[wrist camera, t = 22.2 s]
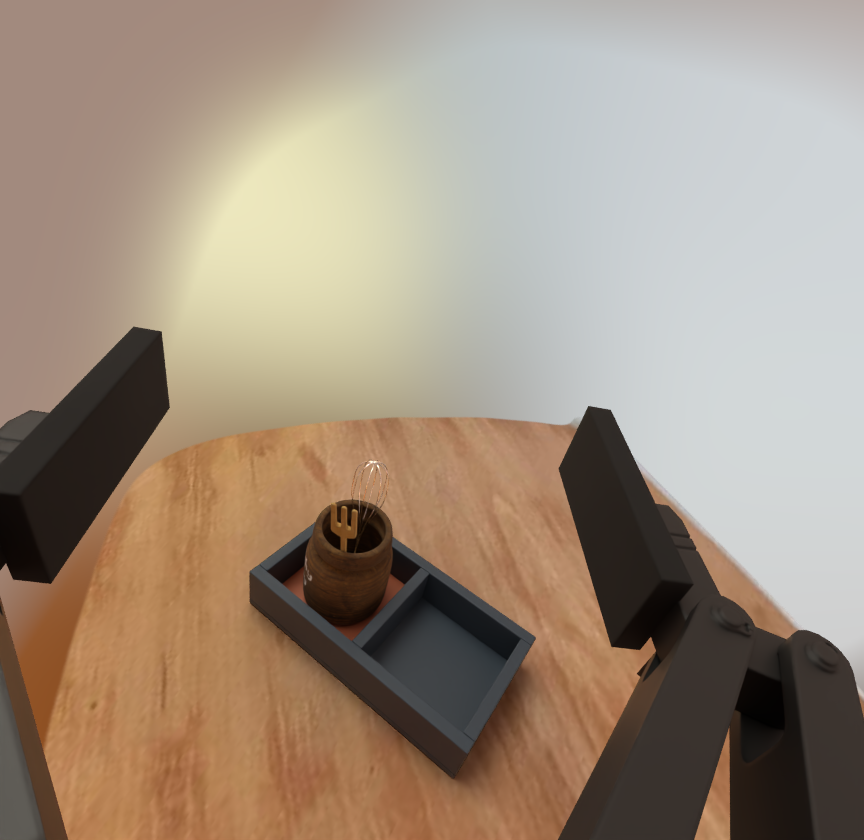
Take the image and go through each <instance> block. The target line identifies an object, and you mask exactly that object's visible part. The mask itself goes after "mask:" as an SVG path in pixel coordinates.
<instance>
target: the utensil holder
mask: <svg viewBox="0 0 864 840" xmlns="http://www.w3.org/2000/svg"><path fill="white" fill-rule="evenodd" d="M372 461H373V460H372ZM377 461H378V460H377ZM377 461H376V462H375V461H374V462H373V463H371V464H374V463H375V464H376V465H377V468H378V469H379V467H378V463H380V462H377ZM367 462H371V461H370V460H368V461H367ZM367 462H364V463H367ZM362 464H363V463H362ZM362 464H360V465H362ZM375 464H374V465H375ZM381 464H383V463H381ZM360 465H359V466H360ZM365 465H366V464H365ZM369 465H370V464H369ZM379 465H380V464H379ZM383 465H384V464H383ZM359 466H358V467H359ZM367 466H368V465H367ZM367 466H364V468H365V467H367ZM380 466H382V465H380ZM384 466H385V465H384ZM373 467H374V466H373ZM382 467H383V466H382ZM385 467H386V466H385ZM364 468H363V469H362V470H363V472H364ZM383 468H384V467H383ZM357 469H358V468H357ZM357 469H356V471H357ZM372 469H373V468H372ZM384 469H385V468H384ZM362 470H361V471H362ZM385 470H387V467H386V469H385ZM361 471H360V473H361ZM371 472H372V470H371ZM379 472H380V469H379ZM386 472H387V471H386ZM360 473H359V474H360ZM376 473H377V470H376ZM355 474H356V472H355ZM359 474H358V476H359ZM370 475H371V473H370ZM387 475H388V472H387ZM358 476H357V478H358ZM362 476H363V473H362ZM375 477H376V474H375ZM354 478H355V475H354ZM369 478H370V476H369ZM380 479H381V473H380ZM386 479H387V476H386ZM356 481H357V479H356ZM361 481H362V478H361ZM368 481H369V479H368ZM353 482H354V479H353ZM374 482H375V479H374ZM385 484H386V481H385ZM355 485H356V482H355ZM367 485H368V482H367ZM388 485H389V476H388ZM373 486H374V483H373ZM352 487H353V483H352ZM360 487H361V482H360ZM380 488H381V482H380ZM384 488H385V485H384ZM354 489H355V486H354ZM366 489H367V486H366ZM372 490H373V487H372ZM387 490H388V486H387ZM383 492H384V489H383ZM365 493H366V490H365ZM371 493H372V491H371ZM379 493H380V489H379ZM353 494H354V490H353ZM382 494H383V493H382ZM386 494H387V491H386ZM351 496H352V490H351ZM370 497H371V495H370ZM378 497H379V494H378ZM381 497H382V495H381ZM381 497H380V499H381ZM364 498H365V495H364ZM385 498H386V495H385ZM380 499H379V501H380ZM369 500H370V498H369ZM377 501H378V499H377ZM379 501H378V503H379ZM384 501H385V499H384ZM384 501H383V503H384ZM378 503H376V506H377V504H378ZM383 503H382V505H383ZM382 505H381V507H382ZM376 506H375V505H373V504H371V503H369V501H368V502H365V501H364V499H363V501H360V490H359V500H353V496H352V500H343V501H339V502H336V503H331V505H329V506H328V507H326V508H325V509H324V510H323V511H322V512H321V513H320V515H319V516H318V518H317V520H316V523H315V525H314V528H313V534H312V536H311V538H310V540H309V542H308V545H307V549H306V555H305V563H304V574H303V592H304V597H305V600H306V603H307V605H308V606H309V607H311V608H312V609H313V610H314V611H316V612H317V613H318V614H319V615H320V616H322V617H323V618H324V619H325V620H327V621H328V622H329V623H333V624H338V625H349V624H355V623H358V622H361V621H363V620H365V619H366V618H368V617H369V616H371V615H372V614H373V613H374V612H375V611H376V610H377V608H378V607H379V605H380V604H381V602H382V600H383V597H384V594H385V591H386V587H387V584H388V580H389V575H390V571H391V566H392V559H393V552H392V540H393V533H392V525H391V522H390V520H389V518H388V517H387V515H386V514H385V513H384V512H383V511H382V510H381V509H380V508H381V507H380V508H378V507H376Z"/></svg>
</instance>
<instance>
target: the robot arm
mask: <svg viewBox="0 0 864 840" xmlns="http://www.w3.org/2000/svg"><path fill="white" fill-rule="evenodd" d="M169 408H170V407H169V397H168V387H167V378H166V369H165V359H164V350H163V341H162V332H161V331H155V330H150V329H143V328H138V327H133V328H132V329H131V330H130V331H129V332H128V333H127V334H126V335H125V336H124V337H123V338H122V339H121V340H120V341H119V342H118V343H117V344H116V345H115V346H114V347H113V348H112V350H110V351H109V353H108V354H107V355H106V356H105V357H104V358H103V359H102V360H101V361H100V362H99V363H98V364H97V365H96V366H95V367H94V368H93V369H92V370H91V371H90V372H89V373H88V374H87V375H86V376H85V377H84V378H83V379H82V380H81V382H79V383H78V384H77V385H76V386H75V387H74V388H73V390H71V392H70V393H69V394H68V395H67V396H66V397H65V398H64V399H63V400H62V401H61V402H60V403H59V404H58V405H57V406H56V407H55V408H54V409H53V410H52V411H51V412H50V413H45V412H39V411H32V410H30V411H28V412H26V413H24V414H22V415H20V416H18V417H16V418H14V419H12V420H10V421H8V422H7V423H6V424H5V425H4V426H3V427H1V428H0V570H1V569H2V567H3V566H4V565H5V564H7V566H8V568H9V571H10V573H11V576H12V578H13V579H14V580H22V581H31V582H40V583H49V584H51V583H52V581H53V580H54V578H55V577H56V576H57V574H58V573H59V571H60V570H61V568H62V567H63V565H64V564H65V562H66V561H67V559H68V558H69V556H70V555H71V553H72V552H73V550H74V549H75V547H76V546H77V544H78V543H79V541H80V540H81V538H82V537H83V535H84V534H85V533H86V531H87V530H88V528H89V527H90V525H91V524H92V522H93V521H94V519H95V518H96V516H97V515H98V513H99V512H100V510H101V509H102V507H103V506H104V504H105V503H106V501H107V500H108V498H109V497H110V495H111V494H112V492H113V491H114V489H115V488H116V487H117V485H118V484H119V482H120V481H121V479H122V477H123V476H124V475H125V473H126V472H127V470H128V469H129V467H130V466H131V464H132V463H133V461H134V460H135V458H136V457H137V455H138V454H139V452H140V451H141V449H142V448H143V446H144V445H145V444H146V442H147V441H148V439H149V438H150V436H151V435H152V433H153V432H154V430H155V429H156V427H157V426H158V424H159V423H160V421H161V420H162V418H163V417H164V415H165V414H166V412H167V410H168V409H169ZM559 472H560V475H561V478H562V482H563V485H564V488H565V492H566V495H567V499H568V502H569V505H570V509H571V512H572V515H573V519H574V522H575V525H576V529H577V532H578V536H579V539H580V542H581V546H582V549H583V552H584V556H585V559H586V563H587V566H588V569H589V573H590V576H591V579H592V583H593V586H594V589H595V593H596V596H597V600H598V603H599V606H600V610H601V613H602V616H603V620H604V623H605V627H606V630H607V633H608V637H609V640H610V643H611V647H618V648H627V649H636V650H640V649H641V648H642V647H643V646H644V644H645V643H646V642H647V641H648V639H649V638H650V637H651V638H652V641H653V644H654V646H655V649H656V652H655V653H654V654H653V656H652V657H651V658H650V659H649V660H648V661H647V663H646V664H645V665H644V666H643V667H642V668H641V670H640V671H639V672H638V673H637V674H638V675H639V676H640V679H639V681H638V683H637V685H636V687H635V689H634V691H633V693H632V695H631V697H630V699H629V701H628V703H627V705H626V707H625V709H624V711H623V713H622V715H621V717H620V719H619V721H618V723H617V725H616V727H615V729H614V730H613V732H612V734H611V736H610V738H609V740H608V742H607V744H606V746H605V748H604V750H603V752H602V754H601V756H600V758H599V760H598V762H597V764H596V766H595V768H594V770H593V772H592V774H591V776H590V778H589V780H588V782H587V784H586V786H585V788H584V790H583V791H582V793H581V795H580V797H579V799H578V801H577V803H576V805H575V807H574V809H573V811H572V813H571V815H570V817H569V819H568V821H567V823H566V825H565V827H564V829H563V831H562V833H561V835H560V837H559V839H558V840H694V838H695V835H696V832H697V829H698V825H699V822H700V819H701V816H702V812H703V809H704V806H705V803H706V800H707V796H708V793H709V790H710V787H711V783H712V780H713V777H714V774H715V771H716V767H717V764H718V761H719V758H720V754H721V751H722V748H723V745H724V742H725V738H726V735H727V732H728V729H729V725H730V840H864V717H863V713H862V708H861V704H860V700H859V695H858V691H857V686H856V682H855V677H854V673H853V670H852V668H851V666H850V663H849V661H848V660H847V659H846V658H845V656H844V655H843V654H842V652H841V651H840V650H839V649H838V648H837V647H835V646H834V645H833V644H832V643H831V642H830V641H828V640H827V639H825V638H823V637H822V636H820V635H819V634H816V633H813V632H810V631H807V630H798V631H796V632H795V633H794V634H792V635H791V636H790V637H789V638H788V639H787V640H786V639H784V638H782V637H779V636H777V635H774V634H772V633H769V632H767V631H764V630H762V629H760V628H757V627H755V625H754V623H753V621H752V619H751V618H750V617H749V615H748V614H747V613H746V612H745V610H744V609H742V608H741V607H740V606H739V605H737V604H736V603H735V602H733V601H731V600H730V599H728V598H726V597H724V596H721V595H720V593H719V591H718V589H717V587H716V585H715V583H714V581H713V580H712V578H711V576H710V574H709V572H708V570H707V568H706V566H705V564H704V562H703V560H702V558H701V556H700V554H699V552H698V551H696V547H695V545H694V543H693V541H692V539H690V535H689V533H688V531H687V529H686V527H685V525H684V523H683V521H682V520H681V519H680V518H679V517H678V516H677V514H676V513H675V512H674V511H673V510H672V509H671V508H670V507H669V506H667V505H660V504H655V502H654V500H653V497H652V495H651V493H650V491H649V489H648V487H647V485H646V483H645V481H644V479H643V477H642V474H641V472H640V470H639V468H638V466H637V464H636V462H635V460H634V458H633V456H632V454H631V451H630V449H629V447H628V445H627V443H626V441H625V439H624V437H623V435H622V433H621V431H620V428H619V426H618V425H617V422H616V420H615V418H614V416H613V414H612V412H611V410H608V409H602V408H597V407H591V406H588V408H587V410H586V412H585V415H584V416H583V419H582V421H581V423H580V425H579V427H578V429H577V431H576V433H575V435H574V438H573V440H572V442H571V444H570V446H569V448H568V450H567V452H566V454H565V456H564V459H563V461H562V463H561V465H560V467H559ZM0 840H68V838H67V834H66V830H65V827H64V823H63V820H62V816H61V813H60V809H59V805H58V802H57V798H56V795H55V791H54V787H53V784H52V780H51V777H50V773H49V770H48V766H47V762H46V759H45V755H44V752H43V748H42V744H41V741H40V738H39V734H38V730H37V727H36V723H35V719H34V716H33V712H32V709H31V705H30V701H29V698H28V694H27V691H26V687H25V684H24V680H23V676H22V673H21V669H20V666H19V662H18V659H17V655H16V651H15V648H14V644H13V641H12V637H11V633H10V630H9V627H8V623H7V619H6V615H5V612H4V608H3V605H2V601H1V598H0Z"/></svg>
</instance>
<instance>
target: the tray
mask: <svg viewBox="0 0 864 840" xmlns="http://www.w3.org/2000/svg"><path fill="white" fill-rule="evenodd" d="M315 523H316V522H315ZM315 523H314V524H312V525H311V526H310V527H308V528H307V529H306V530H304V531H303V532H302V533H300V534H299V535H298V536H296V537H295V538H294V539H292V540H291V541H290V542H288V543H287V544H286V545H284V546H283V547H282V548H280V549H279V550H278V551H276V552H275V553H274V554H272V555H271V556H270V557H268V558H267V559H266V560H264V561H263V562H262V563H261V564H260V565H258V566H256V567H255V568H254V569H252V570H251V571H250V603H251V604H252V605H253V606H255V607H256V608H257V609H258V610H259V611H260V612H261V613H263V614H264V615H265V616H266V617H267V618H268V619H270V620H271V621H272V622H273V623H274V624H275V625H276V626H278V627H279V628H280V629H281V630H282V631H283V632H285V633H286V634H287V635H288V636H289V637H290V638H291V639H293V640H294V641H295V642H296V643H297V644H298V645H300V646H301V647H302V648H303V649H304V650H305V651H306V652H308V653H309V654H310V655H311V656H312V657H313V658H315V659H316V660H317V661H318V662H319V663H320V664H321V665H323V666H324V667H325V668H326V669H327V670H328V671H330V672H331V673H332V674H333V675H334V676H335V677H336V678H338V679H339V680H340V681H341V682H342V683H343V684H345V685H346V686H347V687H348V688H349V689H350V690H351V691H353V692H354V693H355V694H356V695H357V696H358V697H360V698H361V699H362V700H363V701H364V702H365V703H366V704H368V705H369V706H370V707H371V708H372V709H373V710H375V711H376V712H377V713H378V714H379V715H380V716H381V717H383V718H384V719H385V720H386V721H387V722H388V723H390V724H391V725H392V726H393V727H394V728H395V729H396V730H398V731H399V732H400V733H401V734H402V735H403V736H405V737H406V738H407V739H408V740H409V741H410V742H411V743H413V744H414V745H415V746H416V747H417V748H418V749H420V750H421V751H422V752H423V753H424V754H425V755H426V756H428V757H429V758H430V759H431V760H432V761H433V762H435V763H436V764H437V765H438V766H439V767H440V768H441V769H443V770H444V771H445V772H446V773H447V774H448V775H449V776H451V777H452V778H453V779H454V778H455V776H456V774H457V773H458V771H459V769H460V768H461V766H462V764H463V762H464V761H465V759H466V757H467V756H468V754H469V752H470V750H471V749H472V747H473V745H474V744H475V742H476V740H477V739H478V737H479V735H480V733H481V732H482V730H483V728H484V727H485V725H486V723H487V721H488V720H489V718H490V716H491V715H492V713H493V711H494V710H495V708H496V706H497V704H498V703H499V701H500V699H501V698H502V696H503V694H504V692H505V691H506V689H507V687H508V686H509V684H510V682H511V681H512V679H513V677H514V675H515V674H516V672H517V670H518V669H519V667H520V665H521V663H522V662H523V660H524V658H525V656H526V655H527V653H528V651H529V649H530V648H531V646H532V644H533V643H534V641H535V639H536V637H535V636H533V635H532V634H530V633H529V632H527V631H526V630H525V629H523V628H522V627H520V626H519V625H517V624H516V623H515V622H513V621H512V620H510V619H509V618H508V617H506V616H505V615H503V614H502V613H500V612H499V611H498V610H496V609H495V608H493V607H492V606H490V605H489V604H488V603H486V602H485V601H483V600H482V599H480V598H479V597H478V596H476V595H475V594H473V593H472V592H470V591H469V590H468V589H466V588H465V587H463V586H462V585H461V584H459V583H458V582H456V581H455V580H453V579H452V578H451V577H449V576H448V575H446V574H445V573H443V572H442V571H441V570H439V569H438V568H436V567H435V566H433V565H432V564H431V563H429V562H428V561H426V560H425V559H423V558H422V557H421V556H419V555H418V554H416V553H415V552H414V551H412V550H411V549H409V548H408V547H406V546H405V545H404V544H402V543H401V542H399V541H398V540H396V539H395V538H394V537H393V540H392V552H393V559H392V566H391V571H390V575H389V580H388V584H387V587H386V591H385V594H384V597H383V600H382V602H381V604H380V605H379V607H378V608H377V610H376V611H375V612H374V613H373V614H372V615H371V616H369V617H368V618H366V619H365V620H363V621H361V622H358V623H355V624H349V625H338V624H333V623H329V622H328V621H327V620H325V619H324V618H323V617H322V616H320V615H319V614H318V613H317V612H316V611H314V610H313V609H312V608H311V607H309V606H308V605H307V603H306V600H305V597H304V592H303V574H304V563H305V555H306V549H307V545H308V542H309V540H310V538H311V536H312V534H313V528H314V525H315Z"/></svg>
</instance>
